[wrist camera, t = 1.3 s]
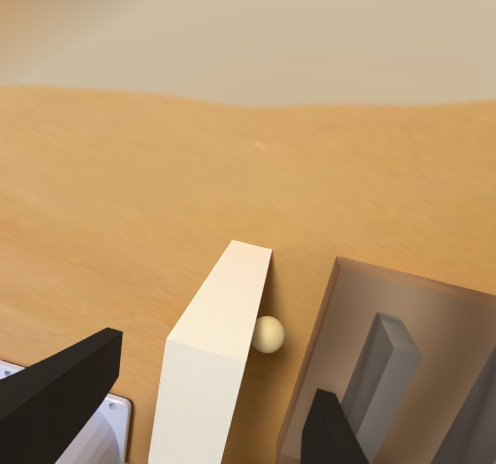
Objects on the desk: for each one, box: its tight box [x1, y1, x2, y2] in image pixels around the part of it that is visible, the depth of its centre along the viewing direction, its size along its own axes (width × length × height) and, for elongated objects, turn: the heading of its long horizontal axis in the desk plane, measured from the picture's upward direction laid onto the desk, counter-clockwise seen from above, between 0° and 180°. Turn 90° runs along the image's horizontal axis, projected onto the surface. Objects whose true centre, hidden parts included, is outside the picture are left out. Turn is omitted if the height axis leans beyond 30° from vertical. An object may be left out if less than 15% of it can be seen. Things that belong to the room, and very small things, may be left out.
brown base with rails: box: [276, 256, 496, 464], centre depth 13 cm, size 10×12×6 cm
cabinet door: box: [148, 240, 285, 464], centre depth 12 cm, size 3×7×8 cm, turn 169°
